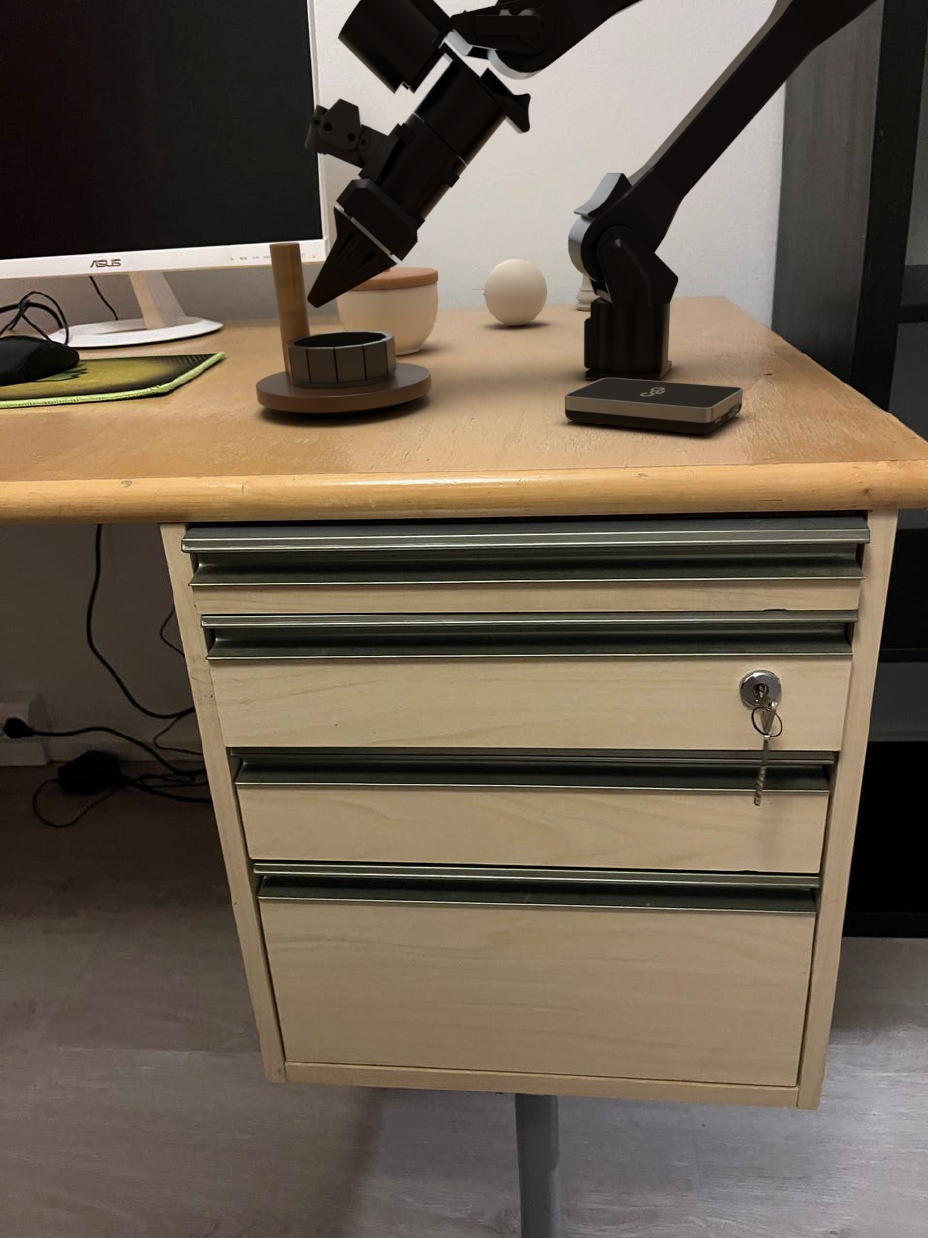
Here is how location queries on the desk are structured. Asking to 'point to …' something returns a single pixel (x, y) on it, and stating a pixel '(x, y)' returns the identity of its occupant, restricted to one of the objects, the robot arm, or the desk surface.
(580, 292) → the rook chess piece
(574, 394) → the external hard drive
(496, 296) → the seamed sphere
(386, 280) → the trinket box
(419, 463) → the desk surface
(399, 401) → the turntable
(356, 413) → the turntable hub
